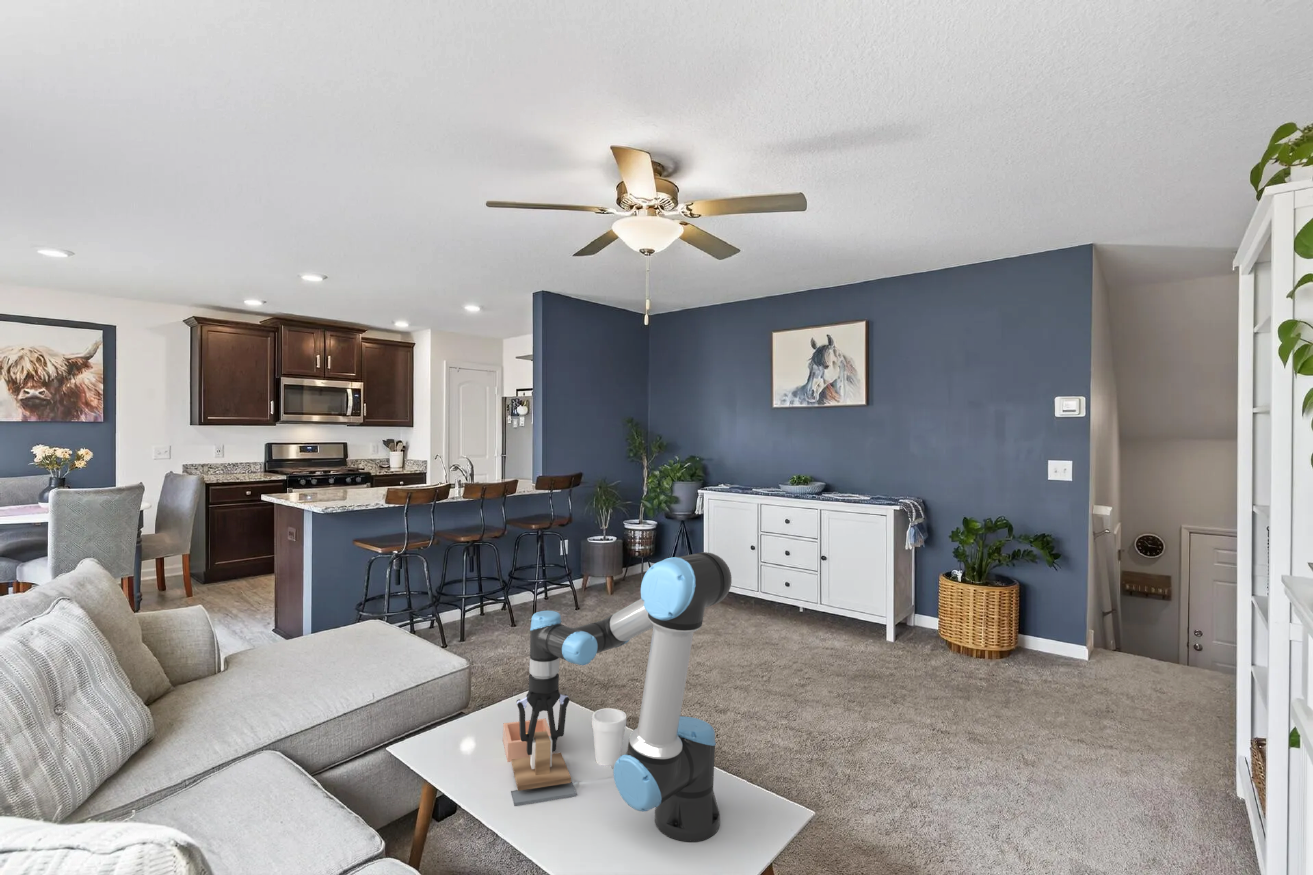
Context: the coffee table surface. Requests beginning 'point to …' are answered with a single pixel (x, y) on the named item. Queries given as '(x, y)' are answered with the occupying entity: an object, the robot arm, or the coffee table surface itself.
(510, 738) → the pink open box
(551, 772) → the lid
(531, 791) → the mat
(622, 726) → the foam cup
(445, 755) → the coffee table surface
